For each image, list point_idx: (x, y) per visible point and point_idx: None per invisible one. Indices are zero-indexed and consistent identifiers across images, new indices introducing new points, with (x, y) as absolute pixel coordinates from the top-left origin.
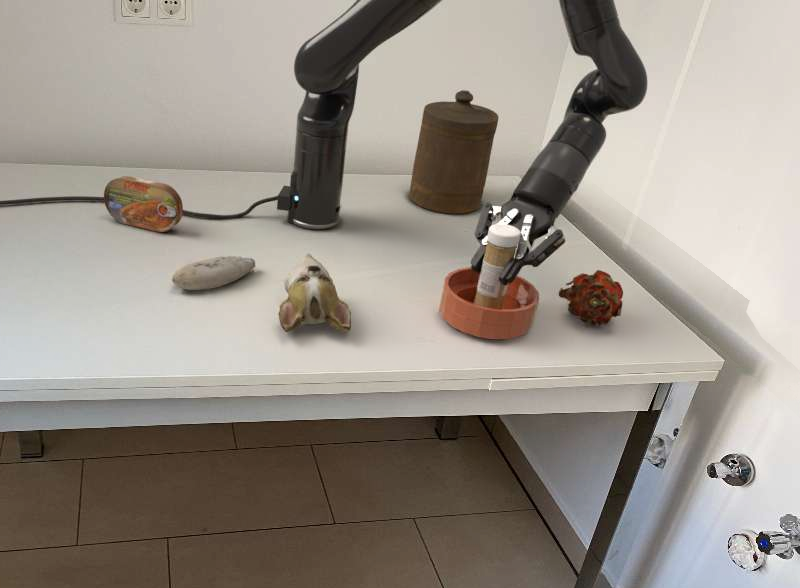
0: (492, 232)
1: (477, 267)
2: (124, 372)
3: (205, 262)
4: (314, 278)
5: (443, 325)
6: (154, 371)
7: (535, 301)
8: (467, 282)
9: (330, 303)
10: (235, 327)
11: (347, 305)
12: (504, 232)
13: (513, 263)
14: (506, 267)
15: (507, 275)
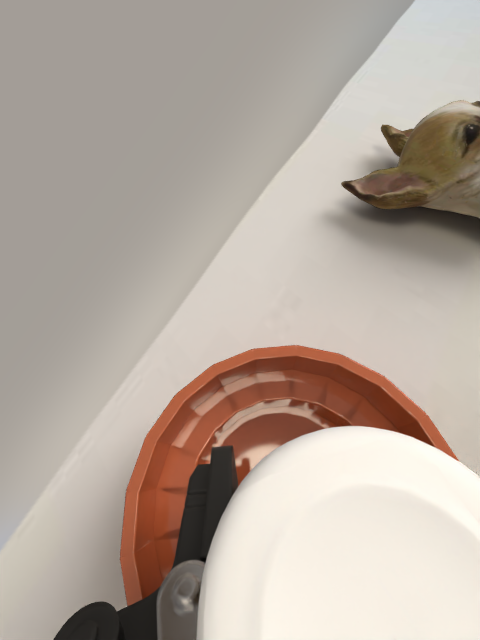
0: (394, 434)
1: None
2: (385, 42)
3: None
4: (476, 109)
5: None
6: (375, 56)
7: (131, 584)
8: None
9: (409, 153)
10: None
11: (409, 195)
12: (321, 526)
13: (204, 531)
14: (224, 488)
15: (207, 476)
